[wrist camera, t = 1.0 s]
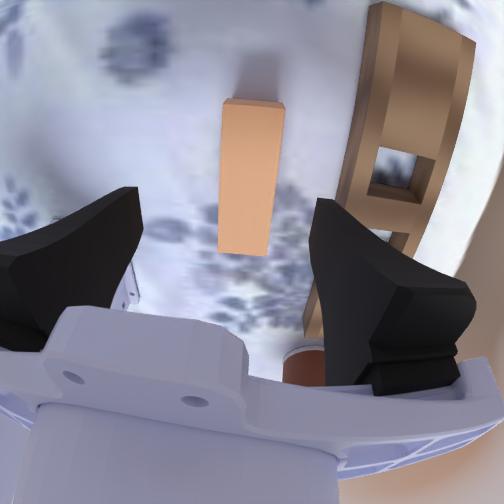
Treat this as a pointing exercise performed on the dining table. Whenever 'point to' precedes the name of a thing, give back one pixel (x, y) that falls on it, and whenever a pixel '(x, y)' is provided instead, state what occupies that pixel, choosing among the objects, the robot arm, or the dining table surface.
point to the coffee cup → (305, 366)
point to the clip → (248, 174)
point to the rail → (401, 126)
